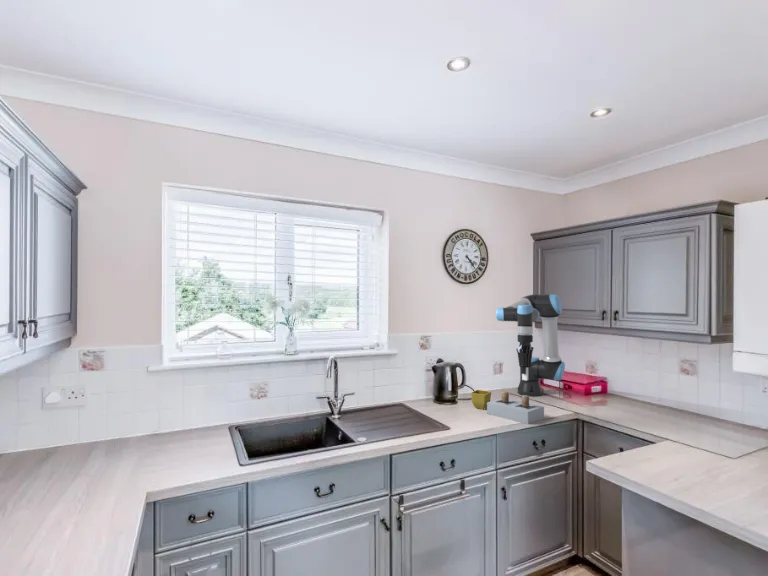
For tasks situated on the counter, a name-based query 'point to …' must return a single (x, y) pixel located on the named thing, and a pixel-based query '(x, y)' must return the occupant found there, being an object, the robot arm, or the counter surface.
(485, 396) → the flower pot
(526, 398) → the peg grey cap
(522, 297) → the robot arm
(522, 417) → the socket block
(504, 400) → the peg brass cap
